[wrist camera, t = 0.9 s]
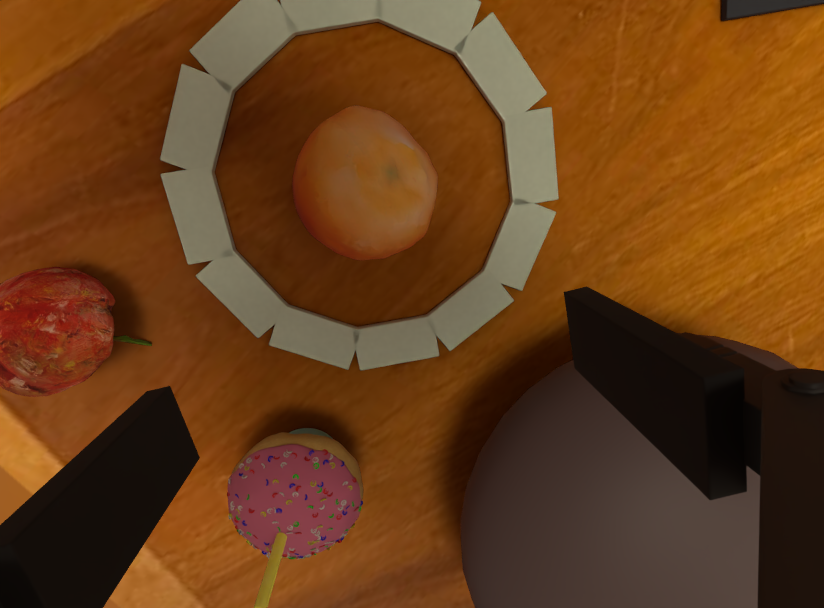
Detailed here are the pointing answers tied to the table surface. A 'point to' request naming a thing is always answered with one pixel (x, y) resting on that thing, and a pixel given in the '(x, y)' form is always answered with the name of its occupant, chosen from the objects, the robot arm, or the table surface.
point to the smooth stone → (600, 511)
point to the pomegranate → (54, 330)
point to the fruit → (364, 185)
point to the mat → (761, 7)
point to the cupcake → (294, 498)
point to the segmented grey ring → (205, 214)
